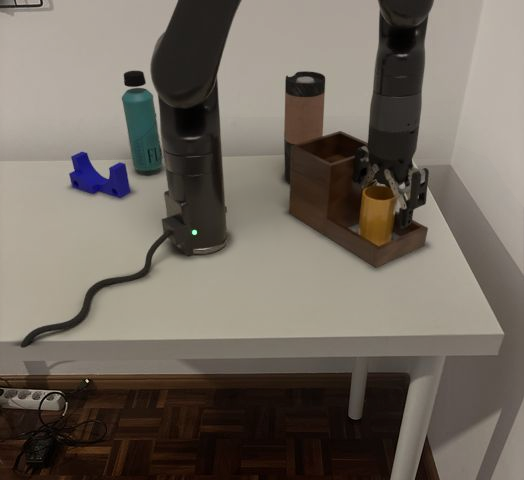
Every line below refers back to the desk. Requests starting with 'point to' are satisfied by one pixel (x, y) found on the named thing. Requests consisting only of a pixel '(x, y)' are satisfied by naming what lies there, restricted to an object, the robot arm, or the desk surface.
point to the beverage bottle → (141, 123)
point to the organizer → (340, 198)
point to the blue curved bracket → (98, 177)
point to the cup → (377, 214)
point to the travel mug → (302, 111)
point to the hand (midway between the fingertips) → (385, 217)
